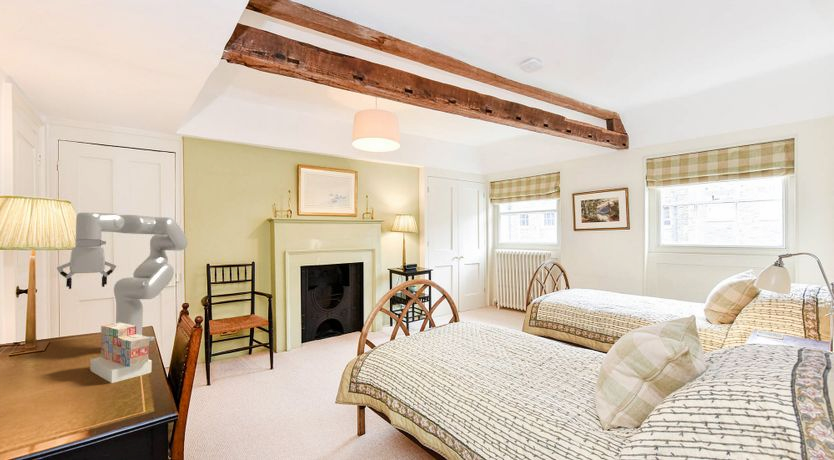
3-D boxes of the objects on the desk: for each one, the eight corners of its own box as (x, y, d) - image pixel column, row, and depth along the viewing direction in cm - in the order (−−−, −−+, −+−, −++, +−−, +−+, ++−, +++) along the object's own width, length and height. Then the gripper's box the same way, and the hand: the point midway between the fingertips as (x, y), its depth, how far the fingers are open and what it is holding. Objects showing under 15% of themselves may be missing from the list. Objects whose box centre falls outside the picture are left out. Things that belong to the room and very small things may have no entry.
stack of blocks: (148, 362, 135) (149, 329, 135) (129, 367, 129) (130, 332, 129) (119, 352, 144) (120, 321, 144) (100, 357, 139) (100, 325, 139)
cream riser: (128, 362, 147) (128, 350, 147) (151, 373, 136) (151, 360, 136) (90, 372, 137) (90, 358, 137) (111, 384, 126) (112, 370, 126)
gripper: (116, 243, 151) (114, 284, 151) (57, 243, 139) (56, 288, 139) (117, 244, 146) (116, 286, 146) (57, 244, 134) (55, 290, 134)
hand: (86, 287), depth 142 cm, fingers open, 9 cm apart
